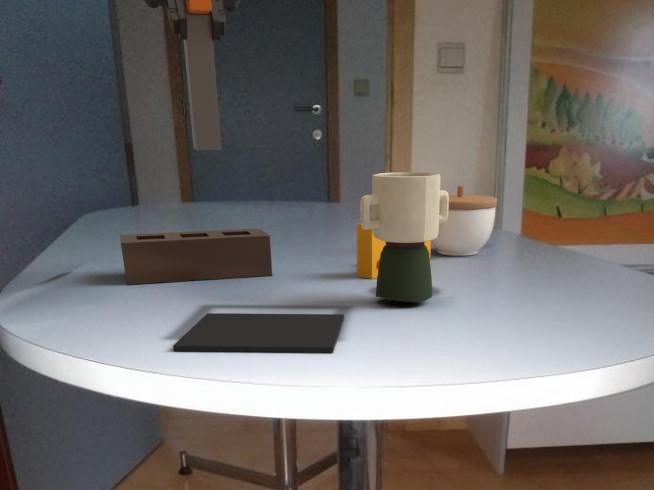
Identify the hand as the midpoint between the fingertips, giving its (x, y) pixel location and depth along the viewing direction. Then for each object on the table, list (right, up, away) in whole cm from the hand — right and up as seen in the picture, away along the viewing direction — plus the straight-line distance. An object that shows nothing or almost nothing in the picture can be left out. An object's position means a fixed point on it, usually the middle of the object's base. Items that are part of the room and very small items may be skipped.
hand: (200, 31), depth 70 cm
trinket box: (+30, -9, +40) cm, 51 cm away
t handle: (-1, -8, +6) cm, 11 cm away
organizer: (-6, -17, +24) cm, 30 cm away
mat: (+7, -30, -2) cm, 31 cm away
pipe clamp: (+19, -15, +27) cm, 36 cm away
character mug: (+20, -24, +10) cm, 33 cm away
